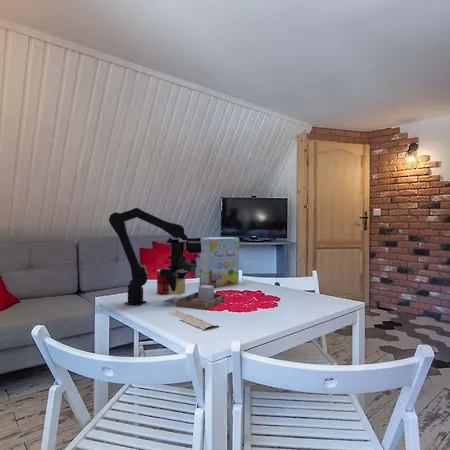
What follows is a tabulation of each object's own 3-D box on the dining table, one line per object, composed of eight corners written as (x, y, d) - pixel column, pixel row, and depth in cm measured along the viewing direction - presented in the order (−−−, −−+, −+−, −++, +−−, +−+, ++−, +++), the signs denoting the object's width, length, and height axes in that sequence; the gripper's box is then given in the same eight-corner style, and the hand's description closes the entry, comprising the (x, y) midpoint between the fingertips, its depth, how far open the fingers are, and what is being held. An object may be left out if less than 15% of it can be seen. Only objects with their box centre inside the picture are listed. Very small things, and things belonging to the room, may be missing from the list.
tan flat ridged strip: (166, 316, 130) (166, 312, 130) (182, 313, 135) (182, 309, 135) (203, 333, 112) (203, 327, 112) (221, 328, 116) (221, 323, 116)
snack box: (209, 289, 179) (209, 238, 179) (198, 286, 186) (199, 237, 185) (239, 283, 194) (240, 237, 193) (228, 281, 200) (229, 236, 200)
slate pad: (180, 304, 146) (180, 302, 146) (164, 302, 149) (164, 301, 149) (189, 300, 153) (189, 298, 153) (173, 298, 156) (173, 297, 156)
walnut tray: (206, 311, 136) (206, 304, 136) (175, 307, 141) (175, 300, 141) (224, 301, 152) (224, 294, 152) (196, 298, 158) (196, 292, 158)
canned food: (165, 295, 164) (165, 271, 163) (153, 293, 168) (153, 270, 168) (176, 292, 170) (176, 270, 170) (165, 290, 175) (165, 268, 174)
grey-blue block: (209, 302, 148) (209, 288, 148) (198, 301, 150) (198, 287, 150) (213, 299, 153) (214, 285, 152) (203, 298, 154) (203, 285, 154)
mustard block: (168, 294, 150) (168, 279, 150) (174, 291, 154) (174, 278, 154) (179, 295, 148) (179, 280, 148) (184, 292, 152) (184, 279, 152)
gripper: (182, 256, 139) (182, 296, 139) (203, 252, 156) (203, 287, 156) (158, 255, 143) (158, 293, 144) (181, 251, 160) (181, 285, 161)
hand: (176, 289), depth 151 cm, fingers closed on mustard block, 5 cm apart
